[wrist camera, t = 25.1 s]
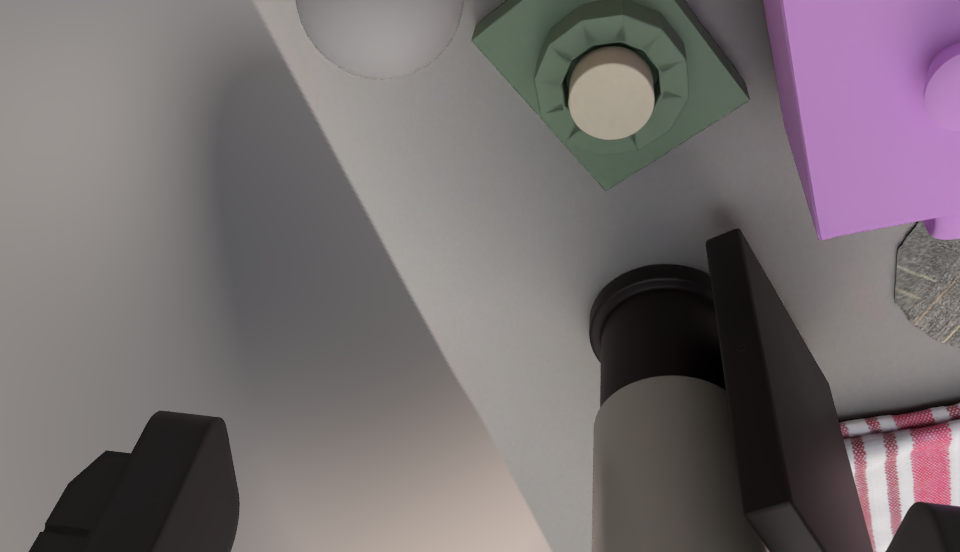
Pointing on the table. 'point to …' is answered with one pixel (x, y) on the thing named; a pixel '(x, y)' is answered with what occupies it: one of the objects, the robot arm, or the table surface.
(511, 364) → the table surface
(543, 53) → the block
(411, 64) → the lightbulb
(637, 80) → the button
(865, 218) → the teapot
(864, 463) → the dish towel
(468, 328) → the table surface
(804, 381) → the light fixture
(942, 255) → the sculpture
